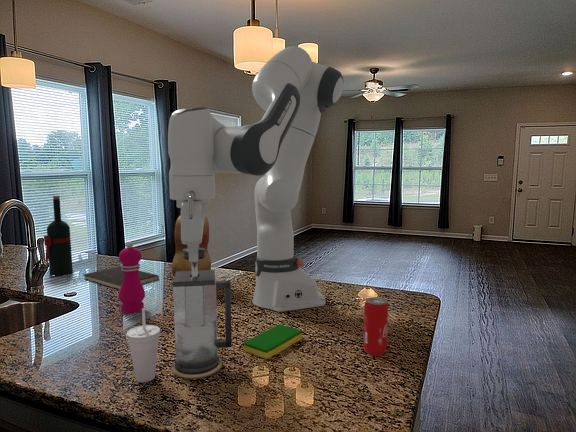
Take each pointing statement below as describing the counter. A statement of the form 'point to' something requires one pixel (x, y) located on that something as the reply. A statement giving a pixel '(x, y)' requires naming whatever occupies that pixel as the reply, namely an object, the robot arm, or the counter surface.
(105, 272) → the hardcover book
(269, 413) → the counter surface
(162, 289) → the counter surface
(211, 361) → the press carafe
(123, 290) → the pepper mill
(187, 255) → the plunger
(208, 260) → the butternut squash
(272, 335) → the dish sponge
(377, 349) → the beverage can
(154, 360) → the smoothie
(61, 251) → the wine bottle
